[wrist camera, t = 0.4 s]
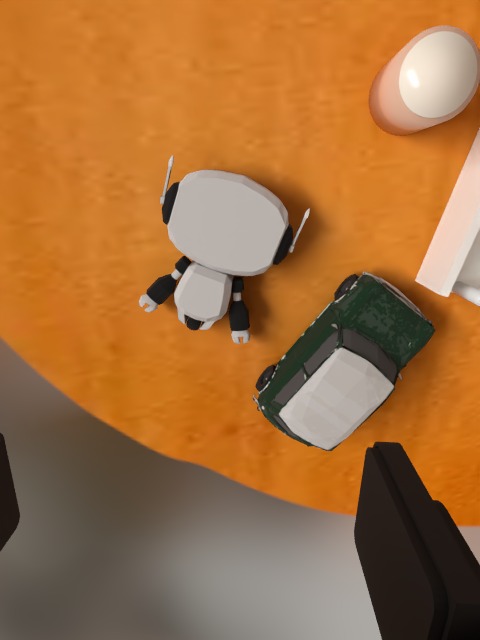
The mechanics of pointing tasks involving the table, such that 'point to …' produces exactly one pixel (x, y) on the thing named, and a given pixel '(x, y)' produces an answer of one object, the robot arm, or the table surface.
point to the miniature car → (343, 363)
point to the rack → (457, 238)
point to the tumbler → (426, 81)
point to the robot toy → (219, 245)
